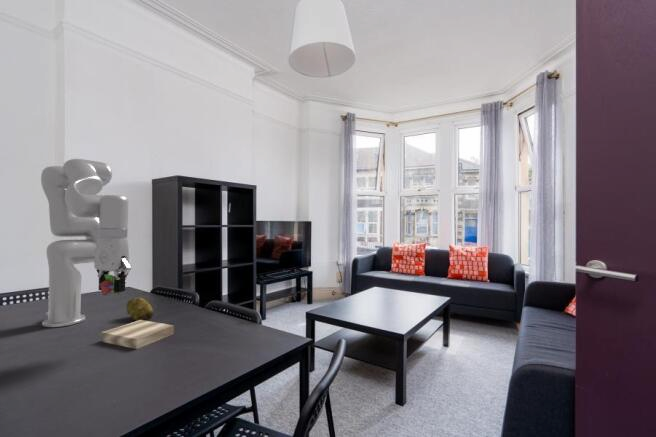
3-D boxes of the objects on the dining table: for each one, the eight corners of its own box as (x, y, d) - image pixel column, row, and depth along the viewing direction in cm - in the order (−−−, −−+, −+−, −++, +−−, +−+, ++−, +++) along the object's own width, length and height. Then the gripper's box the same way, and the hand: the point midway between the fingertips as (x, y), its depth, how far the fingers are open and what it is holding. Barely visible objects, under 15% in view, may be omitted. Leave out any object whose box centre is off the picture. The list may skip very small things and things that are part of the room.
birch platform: (101, 341, 101) (101, 332, 101) (140, 327, 114) (140, 319, 114) (136, 349, 95) (137, 339, 95) (173, 334, 108) (173, 325, 108)
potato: (130, 325, 117) (130, 304, 117) (124, 317, 127) (125, 297, 127) (154, 320, 122) (155, 300, 122) (147, 313, 132) (148, 294, 132)
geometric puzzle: (101, 291, 92) (118, 268, 96) (86, 289, 94) (103, 266, 99) (120, 301, 97) (135, 279, 102) (105, 299, 100) (121, 277, 104)
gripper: (83, 233, 98) (81, 290, 98) (119, 235, 92) (118, 296, 91) (107, 233, 105) (106, 285, 105) (143, 234, 99) (141, 291, 98)
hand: (111, 290), depth 98 cm, fingers closed on geometric puzzle, 6 cm apart
